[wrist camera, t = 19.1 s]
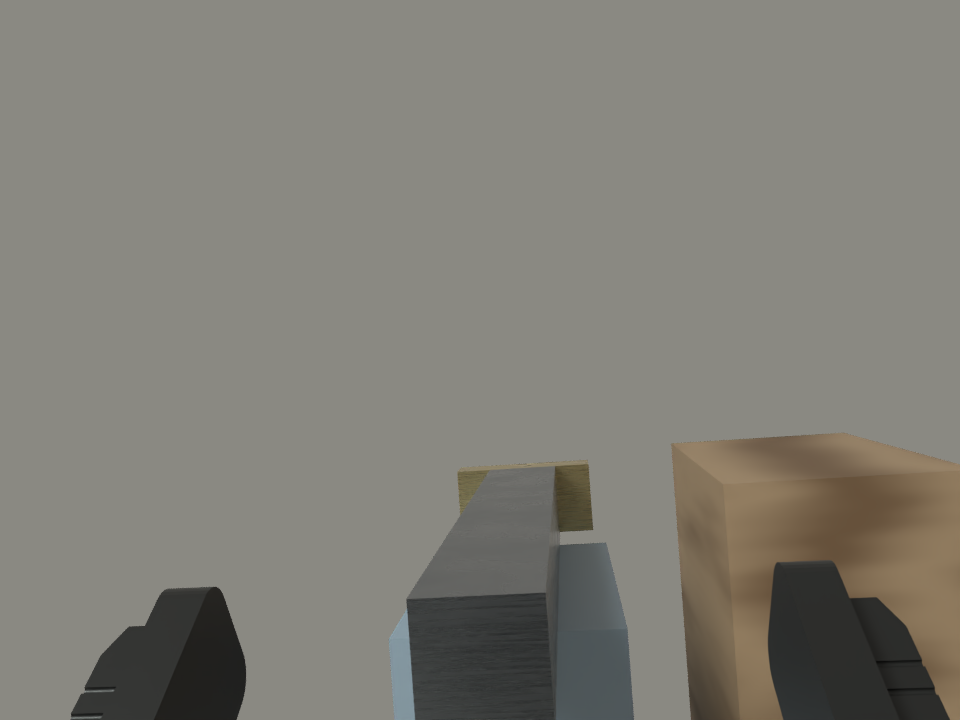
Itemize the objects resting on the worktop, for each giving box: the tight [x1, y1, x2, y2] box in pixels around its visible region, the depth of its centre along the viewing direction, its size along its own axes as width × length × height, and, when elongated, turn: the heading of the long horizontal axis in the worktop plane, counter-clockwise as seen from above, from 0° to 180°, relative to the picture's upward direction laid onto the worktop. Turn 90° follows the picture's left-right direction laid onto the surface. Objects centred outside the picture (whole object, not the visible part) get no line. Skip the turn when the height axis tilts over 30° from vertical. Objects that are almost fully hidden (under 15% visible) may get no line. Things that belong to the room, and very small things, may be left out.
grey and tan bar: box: [407, 460, 593, 720], centre depth 31 cm, size 6×24×3 cm, turn 175°
